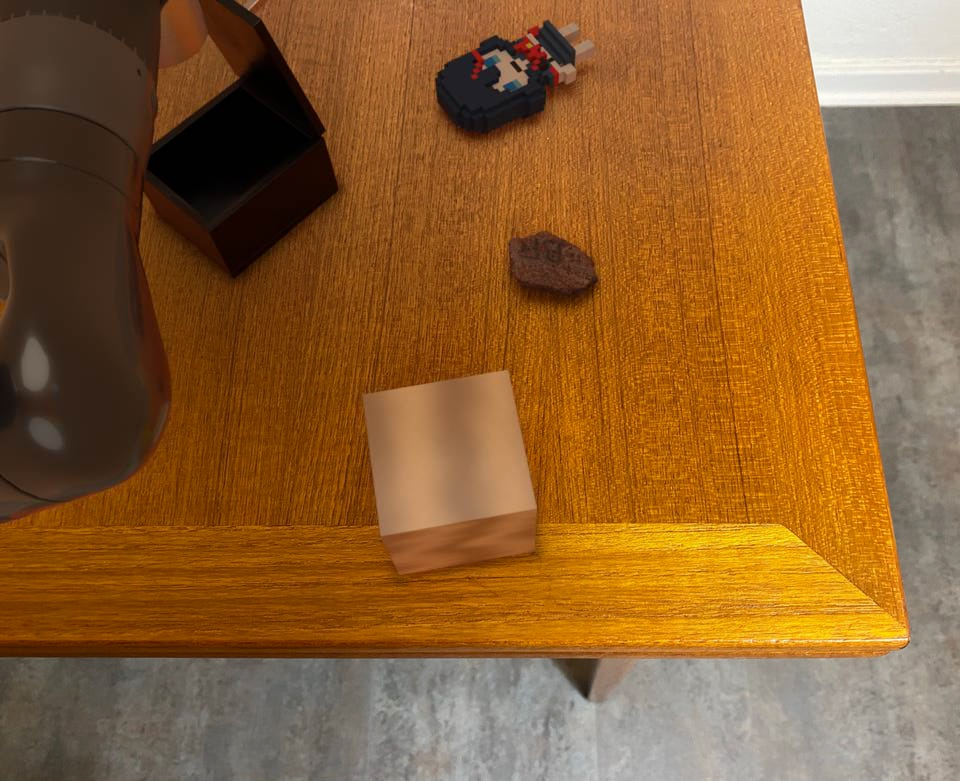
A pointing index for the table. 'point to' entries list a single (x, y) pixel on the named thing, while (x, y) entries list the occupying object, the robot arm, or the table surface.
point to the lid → (257, 57)
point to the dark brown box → (238, 176)
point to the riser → (450, 472)
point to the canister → (181, 31)
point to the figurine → (509, 77)
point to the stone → (551, 265)
